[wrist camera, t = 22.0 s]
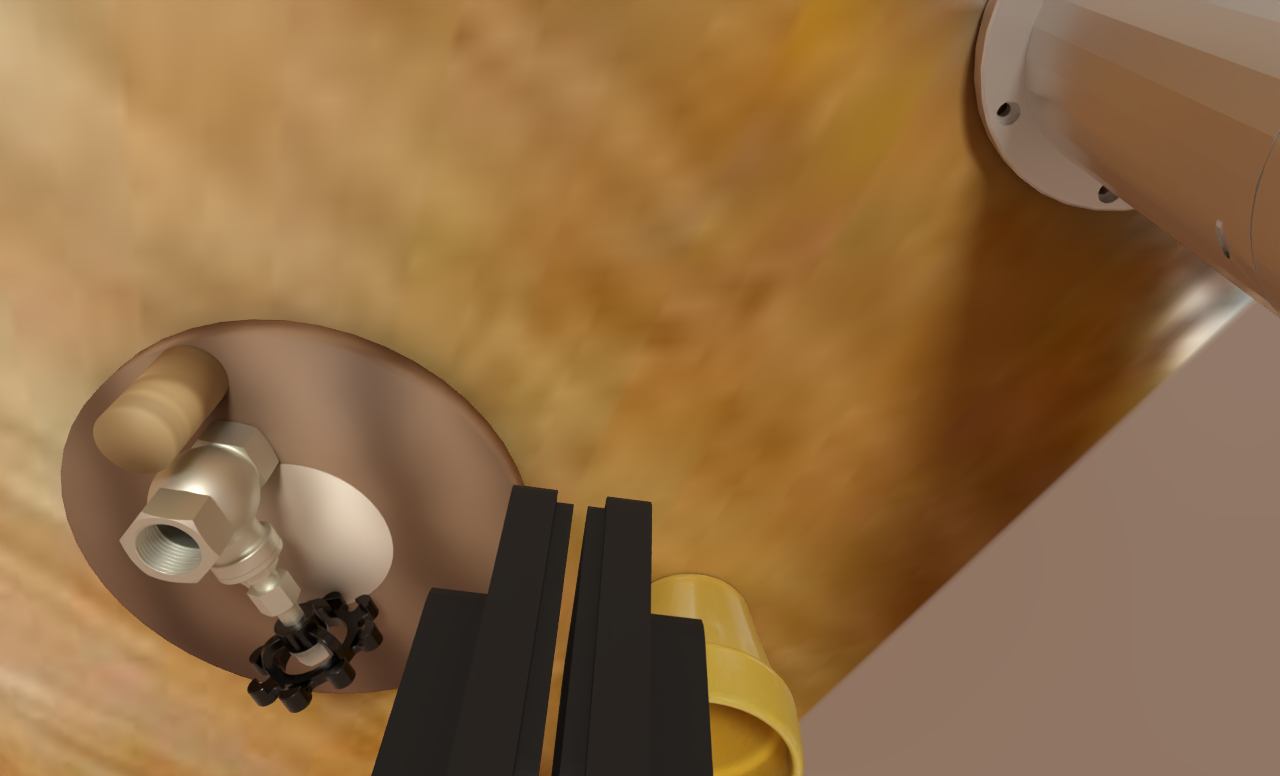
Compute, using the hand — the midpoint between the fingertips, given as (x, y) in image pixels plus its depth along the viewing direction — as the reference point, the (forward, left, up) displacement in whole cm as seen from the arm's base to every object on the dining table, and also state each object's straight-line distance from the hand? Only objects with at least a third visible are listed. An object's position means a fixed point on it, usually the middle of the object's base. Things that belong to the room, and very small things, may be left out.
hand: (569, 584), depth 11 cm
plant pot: (-18, +22, -27) cm, 39 cm away
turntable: (+2, +26, -26) cm, 37 cm away
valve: (+3, +25, -24) cm, 35 cm away
